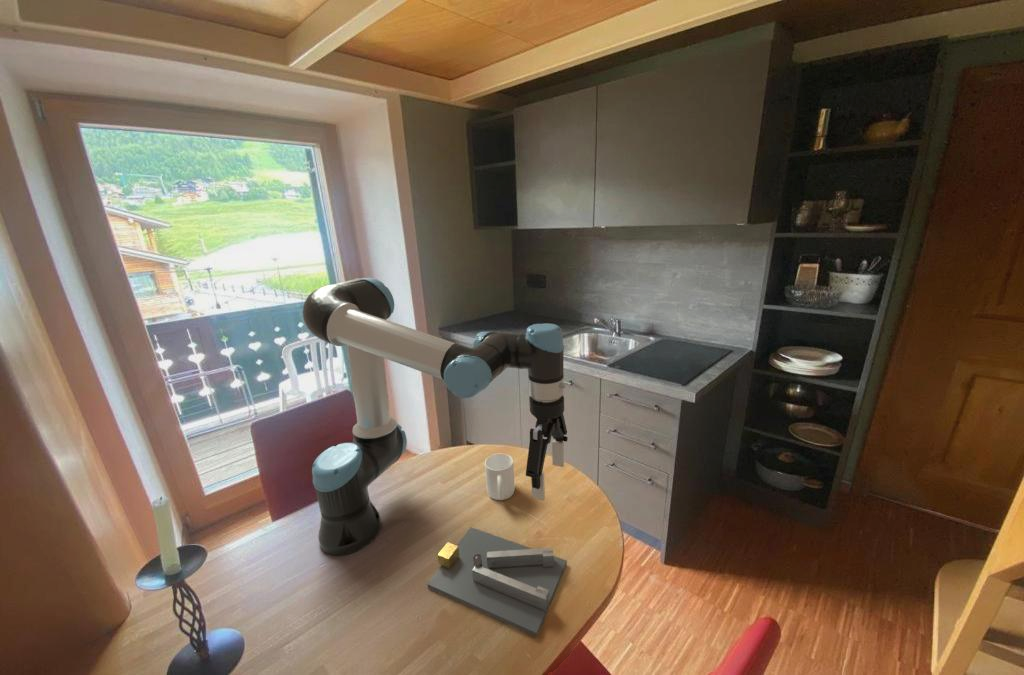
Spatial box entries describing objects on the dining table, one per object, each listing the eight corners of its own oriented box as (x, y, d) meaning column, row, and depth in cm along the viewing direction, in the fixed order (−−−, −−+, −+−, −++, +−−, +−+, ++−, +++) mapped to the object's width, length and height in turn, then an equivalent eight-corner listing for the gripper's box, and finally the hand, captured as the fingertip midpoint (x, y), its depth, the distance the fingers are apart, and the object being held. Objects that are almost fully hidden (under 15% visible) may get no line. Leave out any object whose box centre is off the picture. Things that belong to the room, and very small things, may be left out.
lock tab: (438, 564, 90) (437, 554, 89) (448, 551, 93) (447, 542, 93) (449, 568, 89) (448, 559, 88) (459, 555, 92) (458, 546, 91)
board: (427, 588, 86) (427, 583, 86) (470, 530, 101) (470, 527, 101) (536, 637, 75) (536, 632, 74) (566, 564, 90) (566, 560, 90)
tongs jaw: (487, 570, 88) (486, 560, 87) (487, 562, 90) (486, 551, 89) (553, 566, 88) (553, 555, 87) (552, 557, 90) (552, 547, 89)
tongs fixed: (469, 580, 86) (468, 564, 85) (477, 568, 89) (475, 552, 88) (545, 611, 78) (544, 594, 77) (551, 597, 81) (550, 581, 80)
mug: (516, 509, 108) (514, 477, 105) (486, 511, 108) (484, 479, 105) (513, 481, 120) (512, 452, 117) (487, 483, 119) (484, 454, 116)
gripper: (541, 424, 72) (544, 520, 78) (580, 377, 93) (580, 455, 99) (505, 417, 75) (511, 510, 82) (550, 373, 96) (552, 449, 102)
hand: (549, 480), depth 90 cm, fingers open, 12 cm apart
